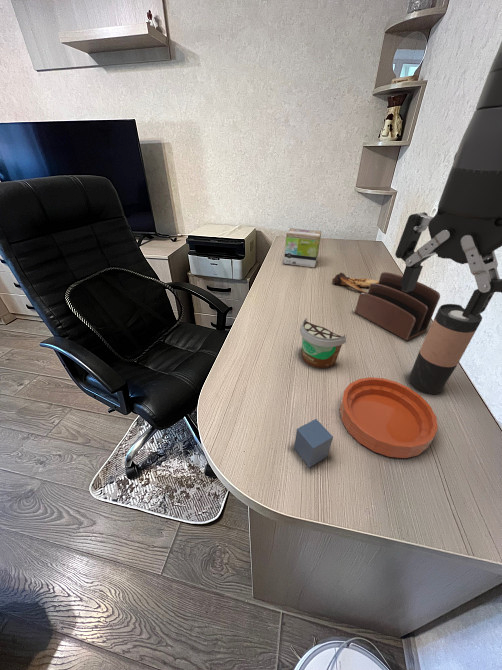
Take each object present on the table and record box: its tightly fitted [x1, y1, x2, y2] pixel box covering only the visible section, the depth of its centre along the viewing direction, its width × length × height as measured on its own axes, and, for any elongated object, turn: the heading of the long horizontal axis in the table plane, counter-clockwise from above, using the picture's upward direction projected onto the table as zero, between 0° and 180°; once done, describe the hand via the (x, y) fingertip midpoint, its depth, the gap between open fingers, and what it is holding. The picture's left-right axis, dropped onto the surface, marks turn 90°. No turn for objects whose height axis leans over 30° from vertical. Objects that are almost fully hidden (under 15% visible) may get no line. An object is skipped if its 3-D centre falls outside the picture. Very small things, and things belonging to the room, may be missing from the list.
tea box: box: [283, 227, 322, 268], centre depth 131 cm, size 15×10×15 cm, turn 73°
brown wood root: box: [331, 272, 379, 294], centre depth 111 cm, size 9×5×18 cm
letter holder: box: [354, 271, 441, 342], centre depth 87 cm, size 10×20×14 cm, turn 31°
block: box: [293, 418, 334, 469], centre depth 51 cm, size 4×4×6 cm
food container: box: [299, 317, 347, 369], centre depth 71 cm, size 12×6×10 cm, turn 47°
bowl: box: [339, 377, 439, 459], centre depth 57 cm, size 18×18×4 cm
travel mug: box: [408, 303, 483, 395], centre depth 62 cm, size 8×8×20 cm
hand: (435, 302), depth 38 cm, fingers open, 8 cm apart
